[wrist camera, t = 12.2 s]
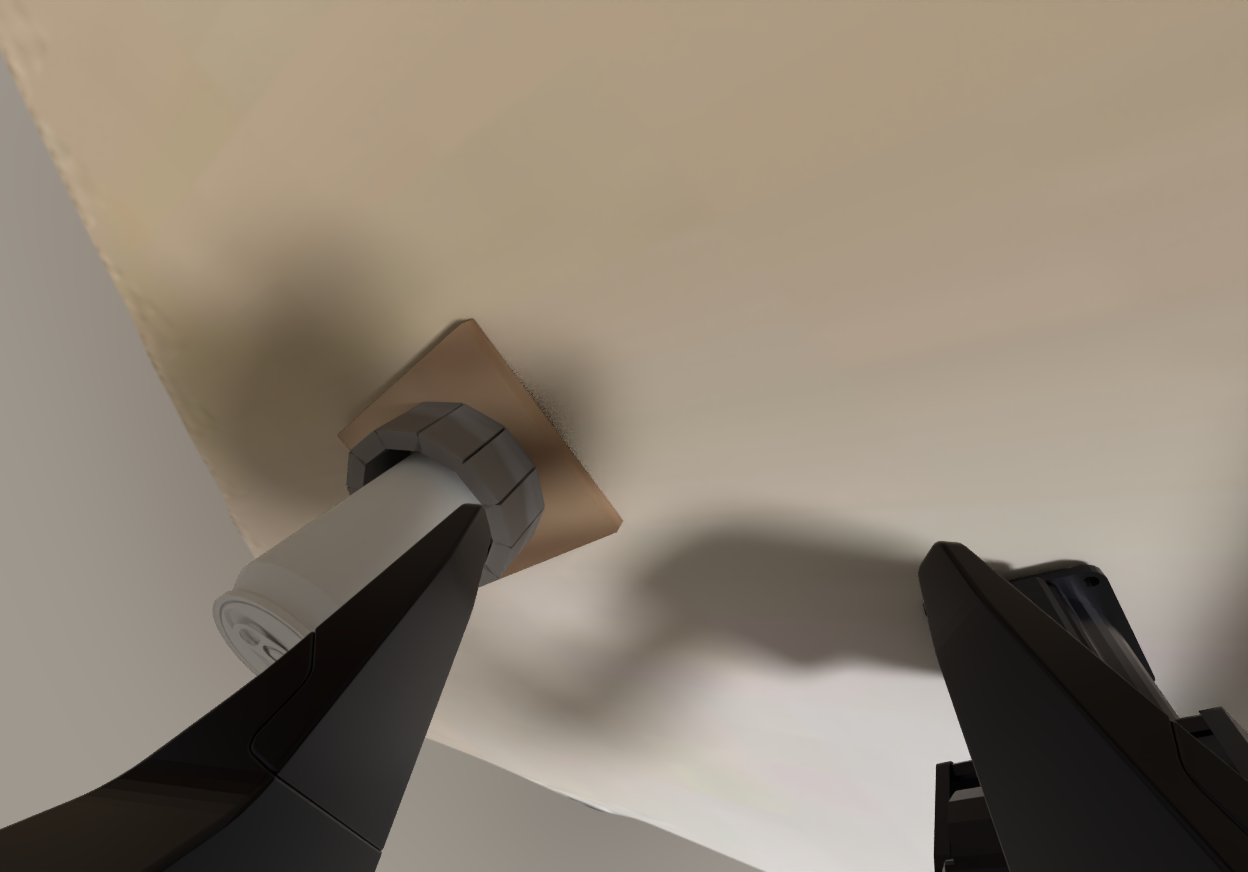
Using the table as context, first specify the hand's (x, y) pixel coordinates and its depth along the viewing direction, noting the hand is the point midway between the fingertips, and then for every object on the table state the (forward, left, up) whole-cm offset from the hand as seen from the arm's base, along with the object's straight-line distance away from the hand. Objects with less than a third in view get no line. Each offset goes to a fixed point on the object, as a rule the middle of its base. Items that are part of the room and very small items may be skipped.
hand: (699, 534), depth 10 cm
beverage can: (+2, +17, -11) cm, 20 cm away
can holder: (+2, +17, -12) cm, 21 cm away
